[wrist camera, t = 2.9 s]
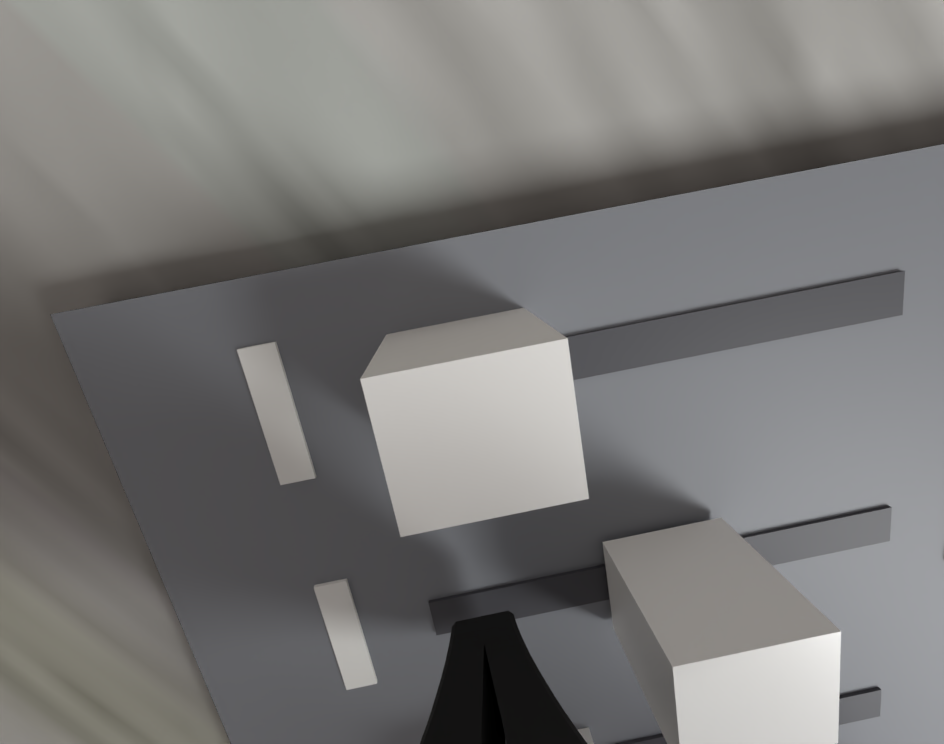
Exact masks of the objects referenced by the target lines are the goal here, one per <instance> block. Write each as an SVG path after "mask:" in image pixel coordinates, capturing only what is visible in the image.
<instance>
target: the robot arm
mask: <svg viewBox="0 0 944 744" xmlns="http://www.w3.org/2000/svg"><path fill="white" fill-rule="evenodd" d="M505 740H506V744H587V742H586V741H585V740H584V738H583V737H582V735H581V734H580V733H579V731H578V730H577V729H576V727H575V726H574V724H573V723H572V721H571V720H570V718H569V717H568V715H567V714H566V713H565V711H564V710H563V708H562V707H561V705H560V703H559V702H558V700H557V699H556V697H555V696H554V694H553V693H552V691H551V689H550V688H549V686H548V684H547V683H546V681H545V679H544V678H543V676H542V674H541V673H540V671H539V669H538V667H537V666H536V664H535V662H534V660H533V658H532V656H531V654H530V652H529V650H528V649H527V647H526V645H525V642H524V640H523V638H522V636H521V634H520V631H519V629H518V626H517V623H516V620H515V617H514V614H513V613H511V612H510V611H504V612H499V613H494V614H489V615H485V616H480V617H475V618H470V619H465V620H461V621H456V622H455V623H454V624H453V626H452V629H451V636H450V642H449V647H448V652H447V656H446V661H445V665H444V669H443V672H442V676H441V680H440V683H439V687H438V690H437V693H436V697H435V700H434V704H433V707H432V710H431V713H430V716H429V719H428V722H427V725H426V728H425V731H424V734H423V736H422V739H421V742H420V744H505Z"/></svg>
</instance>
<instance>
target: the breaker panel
mask: <svg viewBox="0 0 944 744" xmlns="http://www.w3.org/2000/svg"><path fill="white" fill-rule="evenodd" d="M50 315H51V317H52V320H53V322H54V324H55V327H56V329H57V332H58V334H59V336H60V339H61V341H62V343H63V346H64V348H65V351H66V353H67V355H68V358H69V360H70V362H71V365H72V367H73V370H74V372H75V374H76V377H77V379H78V381H79V384H80V386H81V389H82V391H83V393H84V396H85V398H86V400H87V403H88V405H89V408H90V410H91V412H92V415H93V417H94V419H95V422H96V424H97V427H98V429H99V431H100V434H101V436H102V438H103V441H104V443H105V446H106V448H107V450H108V453H109V455H110V457H111V460H112V462H113V465H114V467H115V469H116V472H117V474H118V477H119V479H120V481H121V484H122V486H123V488H124V491H125V493H126V496H127V498H128V500H129V503H130V505H131V507H132V510H133V512H134V515H135V517H136V519H137V522H138V524H139V526H140V529H141V531H142V534H143V536H144V538H145V541H146V543H147V545H148V548H149V550H150V553H151V555H152V557H153V560H154V562H155V564H156V567H157V569H158V572H159V574H160V576H161V579H162V581H163V583H164V586H165V588H166V591H167V593H168V595H169V598H170V600H171V602H172V605H173V607H174V610H175V612H176V614H177V617H178V619H179V622H180V624H181V626H182V629H183V631H184V633H185V636H186V638H187V641H188V643H189V645H190V648H191V650H192V652H193V655H194V657H195V660H196V662H197V664H198V667H199V669H200V671H201V674H202V676H203V679H204V681H205V683H206V686H207V688H208V690H209V693H210V695H211V698H212V700H213V702H214V705H215V707H216V709H217V712H218V714H219V717H220V719H221V721H222V724H223V726H224V728H225V731H226V733H227V736H228V738H229V740H230V743H231V744H420V742H421V739H422V736H423V734H424V731H425V728H426V725H427V722H428V719H429V716H430V713H431V710H432V707H433V704H434V700H435V697H436V693H437V690H438V687H439V683H440V680H441V676H442V672H443V669H444V665H445V661H446V656H447V652H448V647H449V642H450V636H451V629H452V626H453V624H454V623H455V622H456V621H461V620H465V619H470V618H475V617H480V616H485V615H489V614H494V613H499V612H504V611H510V612H511V613H513V614H514V617H515V620H516V623H517V626H518V629H519V631H520V634H521V636H522V638H523V640H524V642H525V645H526V647H527V649H528V650H529V652H530V654H531V656H532V658H533V660H534V662H535V664H536V666H537V667H538V669H539V671H540V673H541V674H542V676H543V678H544V679H545V681H546V683H547V684H548V686H549V688H550V689H551V691H552V693H553V694H554V696H555V697H556V699H557V700H558V702H559V703H560V705H561V707H562V708H563V710H564V711H565V713H566V714H567V715H568V717H569V718H570V720H571V721H572V723H573V724H574V726H575V727H576V729H577V730H578V731H579V733H580V734H581V735H582V737H583V738H584V740H585V741H586V742H587V744H667V742H666V740H665V738H664V736H663V734H662V732H661V729H660V727H659V725H658V723H657V721H656V719H655V717H654V714H653V712H652V710H651V708H650V706H649V704H648V701H647V699H646V697H645V695H644V693H643V691H642V688H641V686H640V684H639V682H638V680H637V678H636V676H635V673H634V671H633V669H632V667H631V665H630V663H629V660H628V658H627V656H626V654H625V652H624V650H623V647H622V645H621V643H620V641H619V639H618V637H617V635H616V632H615V630H614V628H613V621H612V613H611V605H610V598H609V590H608V582H607V574H606V566H605V559H604V551H603V543H602V542H605V541H610V540H614V539H619V538H624V537H629V536H634V535H639V534H644V533H648V532H653V531H658V530H663V529H668V528H673V527H678V526H682V525H687V524H692V523H697V522H702V521H707V520H712V519H716V518H722V519H723V520H724V521H725V522H726V523H728V524H729V525H730V526H731V527H732V528H733V529H734V530H735V531H736V532H737V533H738V534H739V535H740V536H741V537H742V538H743V539H744V540H745V541H746V542H748V543H749V544H750V545H751V546H752V547H753V548H754V549H755V550H756V551H757V552H758V553H759V554H760V555H761V556H762V557H763V558H764V559H765V560H766V561H768V562H769V563H770V564H771V565H772V566H773V567H774V568H775V569H776V570H777V571H778V572H779V573H780V574H781V575H782V576H783V577H784V578H785V579H786V580H788V581H789V582H790V583H791V584H792V585H793V586H794V587H795V588H796V589H797V590H798V591H799V592H800V593H801V594H802V595H803V596H804V597H805V598H807V599H808V600H809V601H810V602H811V603H812V604H813V605H814V606H815V607H816V608H817V609H818V610H819V611H820V612H821V613H822V614H823V615H824V616H825V617H827V618H828V619H829V620H830V621H831V622H832V623H833V624H834V625H835V626H836V627H837V628H838V629H839V630H840V631H841V654H840V692H839V730H838V743H837V744H944V144H942V145H936V146H931V147H926V148H921V149H915V150H910V151H905V152H900V153H894V154H889V155H884V156H879V157H873V158H868V159H863V160H858V161H852V162H847V163H842V164H837V165H832V166H826V167H821V168H816V169H811V170H805V171H800V172H795V173H790V174H784V175H779V176H774V177H769V178H763V179H758V180H753V181H748V182H742V183H737V184H732V185H727V186H721V187H716V188H711V189H706V190H700V191H695V192H690V193H685V194H679V195H674V196H669V197H664V198H658V199H653V200H648V201H643V202H637V203H632V204H627V205H622V206H616V207H611V208H606V209H601V210H595V211H590V212H585V213H580V214H574V215H569V216H564V217H559V218H553V219H548V220H543V221H538V222H532V223H527V224H522V225H517V226H512V227H506V228H501V229H496V230H491V231H485V232H480V233H475V234H470V235H464V236H459V237H454V238H449V239H443V240H438V241H433V242H428V243H422V244H417V245H412V246H407V247H401V248H396V249H391V250H386V251H380V252H375V253H370V254H365V255H359V256H354V257H349V258H344V259H338V260H333V261H328V262H323V263H317V264H312V265H307V266H302V267H296V268H291V269H286V270H281V271H275V272H270V273H265V274H260V275H254V276H249V277H244V278H239V279H233V280H228V281H223V282H218V283H212V284H207V285H202V286H197V287H192V288H186V289H181V290H176V291H171V292H165V293H160V294H155V295H150V296H144V297H139V298H134V299H129V300H123V301H118V302H113V303H108V304H102V305H97V306H92V307H87V308H81V309H76V310H71V311H66V312H60V313H55V314H50ZM505 744H506V740H505Z"/></svg>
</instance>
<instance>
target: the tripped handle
mask: <svg viewBox="0 0 944 744" xmlns="http://www.w3.org/2000/svg"><path fill="white" fill-rule="evenodd" d="M602 543H603V551H604V559H605V566H606V574H607V582H608V590H609V598H610V605H611V613H612V621H613V628H614V630H615V632H616V635H617V637H618V639H619V641H620V643H621V645H622V647H623V650H624V652H625V654H626V656H627V658H628V660H629V663H630V665H631V667H632V669H633V671H634V673H635V676H636V678H637V680H638V682H639V684H640V686H641V688H642V691H643V693H644V695H645V697H646V699H647V701H648V704H649V706H650V708H651V710H652V712H653V714H654V717H655V719H656V721H657V723H658V725H659V727H660V729H661V732H662V734H663V736H664V738H665V740H666V742H667V744H837V743H838V730H839V692H840V654H841V631H840V630H839V629H838V628H837V627H836V626H835V625H834V624H833V623H832V622H831V621H830V620H829V619H828V618H827V617H825V616H824V615H823V614H822V613H821V612H820V611H819V610H818V609H817V608H816V607H815V606H814V605H813V604H812V603H811V602H810V601H809V600H808V599H807V598H805V597H804V596H803V595H802V594H801V593H800V592H799V591H798V590H797V589H796V588H795V587H794V586H793V585H792V584H791V583H790V582H789V581H788V580H786V579H785V578H784V577H783V576H782V575H781V574H780V573H779V572H778V571H777V570H776V569H775V568H774V567H773V566H772V565H771V564H770V563H769V562H768V561H766V560H765V559H764V558H763V557H762V556H761V555H760V554H759V553H758V552H757V551H756V550H755V549H754V548H753V547H752V546H751V545H750V544H749V543H748V542H746V541H745V540H744V539H743V538H742V537H741V536H740V535H739V534H738V533H737V532H736V531H735V530H734V529H733V528H732V527H731V526H730V525H729V524H728V523H726V522H725V521H724V520H723V519H722V518H716V519H712V520H707V521H702V522H697V523H692V524H687V525H682V526H678V527H673V528H668V529H663V530H658V531H653V532H648V533H644V534H639V535H634V536H629V537H624V538H619V539H614V540H610V541H605V542H602Z"/></svg>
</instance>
